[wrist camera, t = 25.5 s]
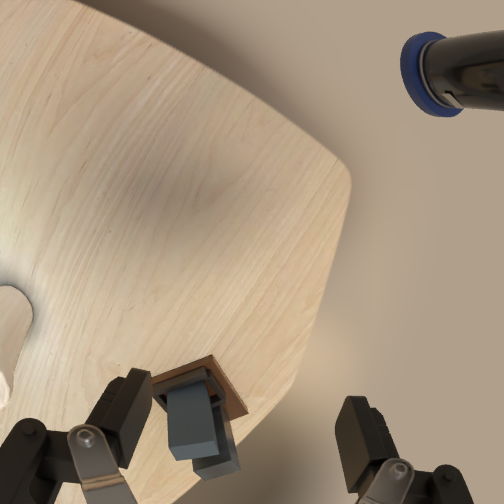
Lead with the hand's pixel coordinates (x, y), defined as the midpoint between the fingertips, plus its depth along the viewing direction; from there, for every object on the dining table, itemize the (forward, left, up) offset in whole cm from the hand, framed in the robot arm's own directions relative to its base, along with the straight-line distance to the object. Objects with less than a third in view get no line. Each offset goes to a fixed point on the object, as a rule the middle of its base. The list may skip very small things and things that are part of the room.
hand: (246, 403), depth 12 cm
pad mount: (+11, +21, -23) cm, 33 cm away
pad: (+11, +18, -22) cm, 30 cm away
